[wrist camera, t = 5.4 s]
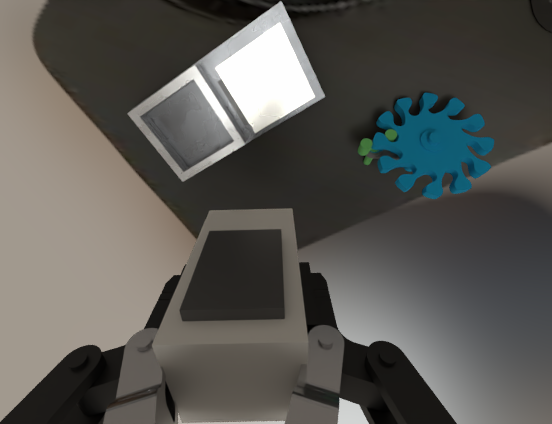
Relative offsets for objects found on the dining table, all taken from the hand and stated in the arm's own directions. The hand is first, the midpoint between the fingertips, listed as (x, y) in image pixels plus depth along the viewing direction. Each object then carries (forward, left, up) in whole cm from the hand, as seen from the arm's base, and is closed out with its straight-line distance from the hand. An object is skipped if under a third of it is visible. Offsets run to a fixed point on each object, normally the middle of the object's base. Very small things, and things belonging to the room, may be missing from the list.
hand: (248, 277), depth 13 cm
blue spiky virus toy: (-14, +5, -18) cm, 23 cm away
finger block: (0, 0, -3) cm, 3 cm away
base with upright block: (0, -7, -18) cm, 19 cm away
